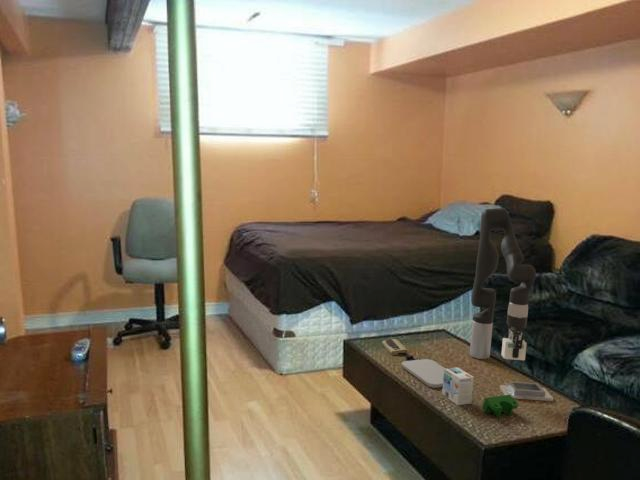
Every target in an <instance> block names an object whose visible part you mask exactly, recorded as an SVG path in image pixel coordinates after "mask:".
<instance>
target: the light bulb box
mask: <svg viewBox="0 0 640 480" xmlns="http://www.w3.org/2000/svg"><path fill="white" fill-rule="evenodd" d="M474 378H475V376H473V375H471V374H470V373H468V372H466V371H465V370H463V369H462V368H460V367H458V366H457V367H449V368H446V369H444V378H443V387H442V390H441V391H442V392H441V395H443V396H444V397H445V398H446V399H448V400H449V401H451V402H452V403H454V404H455V405H456V406H461V405H463V406H464V405H468V404H472V399H473V398H472V397H473V391H474V390H473V388H474Z"/></svg>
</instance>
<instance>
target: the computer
mask: <svg viewBox="0 0 640 480" xmlns="http://www.w3.org/2000/svg"><path fill="white" fill-rule="evenodd" d="M381 344H382V345H383V347H384V348H385V349H386V350H387V351H388V353H389V354H390V355H391V356H403V355H404V356H407V355H408V354H409V353H408V350H407V348H406V347H405V346H404V345H403V344H402V343H401V342H400V341H399V339H396V338H391V339H386V340H382V342H381Z"/></svg>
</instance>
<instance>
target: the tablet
mask: <svg viewBox="0 0 640 480" xmlns="http://www.w3.org/2000/svg"><path fill="white" fill-rule="evenodd" d="M401 366H402V369H404V370H405V371H406V372H408V373H409V374H411V376H413V377H415V378H416V379H417V380H419V381H420V382H422V383H423V384H425V385H426V386H427V387H430V388H433V389H435V388H443V378H444V369H447V368H445V367H444V366H442V365H441V364H439V363H438V362H436V361H434V360H432V359H429V358H427V359H426V358H423V359H415V360H414V359H413V360H405V361H402V362H401Z"/></svg>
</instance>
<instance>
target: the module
mask: <svg viewBox="0 0 640 480" xmlns="http://www.w3.org/2000/svg"><path fill="white" fill-rule="evenodd" d="M501 343H502V346H501V357H502V358H503V359H505V360H515V361H525V360H526V354H527V352H526V351H527V342H526V341H525V339H523V342H522V348H521V349H519V356H518V358H513V357H512V353H513V342H512V339H509V338H508V337H503V338H502V342H501ZM517 346H518V344H517Z"/></svg>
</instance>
